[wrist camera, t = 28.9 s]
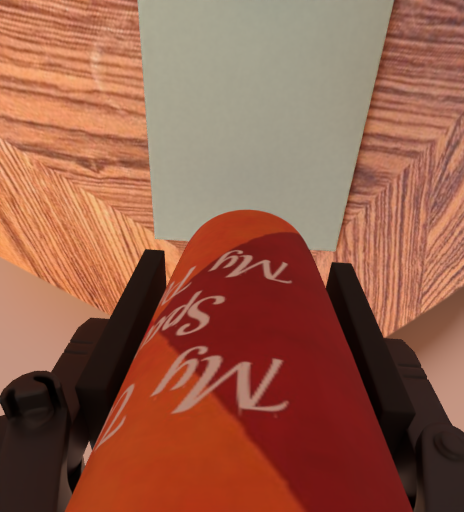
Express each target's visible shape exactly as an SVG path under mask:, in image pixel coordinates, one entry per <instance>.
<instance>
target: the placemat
mask: <svg viewBox="0 0 464 512" xmlns="http://www.w3.org/2000/svg"><path fill="white" fill-rule="evenodd" d="M393 3H394V0H138V12H139V26H140V39H141V53H142V67H143V81H144V94H145V108H146V122H147V136H148V150H149V163H150V177H151V191H152V205H153V218H154V232H155V239H164V240H179V241H190V239H191V238H192V236H193V235H194V234H195V232H196V231H197V230H198V229H199V228H200V227H201V226H202V225H203V224H205V223H206V222H207V221H209V220H210V219H212V218H214V217H216V216H218V215H220V214H223V213H226V212H230V211H235V210H259V211H264V212H268V213H271V214H273V215H276V216H278V217H280V218H282V219H283V220H285V221H287V222H288V223H289V224H291V225H292V226H293V227H294V228H295V229H296V230H297V231H298V232H299V233H300V235H301V236H302V238H303V239H304V241H305V242H306V244H307V246H308V248H309V250H322V251H335V250H336V246H337V242H338V238H339V233H340V229H341V225H342V221H343V216H344V212H345V208H346V204H347V199H348V195H349V191H350V187H351V182H352V178H353V174H354V169H355V165H356V161H357V157H358V152H359V148H360V144H361V140H362V135H363V131H364V127H365V123H366V118H367V114H368V110H369V106H370V101H371V97H372V93H373V88H374V84H375V80H376V76H377V71H378V67H379V63H380V59H381V54H382V50H383V46H384V42H385V37H386V33H387V29H388V25H389V20H390V16H391V12H392V7H393Z"/></svg>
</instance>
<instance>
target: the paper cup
mask: <svg viewBox="0 0 464 512" xmlns="http://www.w3.org/2000/svg"><path fill="white" fill-rule="evenodd" d="M65 512H413V510H412V507H411V505H410V502H409V500H408V497H407V495H406V492H405V489H404V487H403V484H402V482H401V479H400V477H399V474H398V471H397V469H396V466H395V464H394V461H393V459H392V456H391V454H390V451H389V448H388V446H387V443H386V441H385V438H384V436H383V433H382V430H381V428H380V425H379V423H378V420H377V418H376V415H375V412H374V410H373V407H372V405H371V402H370V400H369V397H368V394H367V392H366V389H365V387H364V384H363V381H362V379H361V376H360V373H359V371H358V368H357V366H356V363H355V360H354V358H353V355H352V352H351V350H350V348H349V345H348V343H347V341H346V338H345V336H344V333H343V331H342V328H341V326H340V323H339V321H338V318H337V316H336V313H335V310H334V308H333V305H332V303H331V300H330V298H329V295H328V293H327V290H326V288H325V285H324V283H323V281H322V278H321V276H320V273H319V271H318V268H317V266H316V264H315V261H314V259H313V257H312V254H311V252H310V250H309V248H308V246H307V244H306V242H305V241H304V239H303V238H302V236H301V235H300V233H299V232H298V231H297V230H296V229H295V228H294V227H293V226H292V225H291V224H289V223H288V222H287V221H285V220H283V219H282V218H280V217H278V216H276V215H273V214H271V213H268V212H264V211H259V210H235V211H230V212H226V213H223V214H220V215H218V216H216V217H214V218H212V219H210V220H209V221H207V222H206V223H205V224H203V225H202V226H201V227H200V228H199V229H198V230H197V231H196V232H195V234H194V235H193V236H192V238H191V239H190V241H189V243H188V244H187V246H186V248H185V250H184V252H183V254H182V256H181V258H180V260H179V262H178V264H177V266H176V268H175V270H174V272H173V275H172V277H171V279H170V281H169V283H168V285H167V287H166V290H165V292H164V294H163V296H162V298H161V300H160V303H159V305H158V307H157V309H156V311H155V314H154V316H153V318H152V320H151V322H150V324H149V327H148V329H147V331H146V333H145V335H144V338H143V340H142V342H141V344H140V346H139V349H138V351H137V353H136V355H135V357H134V360H133V362H132V364H131V366H130V368H129V371H128V373H127V375H126V377H125V379H124V382H123V384H122V386H121V388H120V390H119V393H118V395H117V397H116V399H115V401H114V404H113V406H112V408H111V410H110V413H109V415H108V417H107V419H106V421H105V424H104V426H103V428H102V430H101V432H100V435H99V437H98V439H97V441H96V443H95V446H94V448H93V450H92V452H91V455H90V457H89V459H88V461H87V464H86V466H85V468H84V470H83V472H82V474H81V477H80V479H79V481H78V483H77V485H76V488H75V490H74V492H73V494H72V496H71V499H70V501H69V503H68V505H67V507H66V510H65Z"/></svg>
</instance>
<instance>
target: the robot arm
mask: <svg viewBox="0 0 464 512" xmlns="http://www.w3.org/2000/svg"><path fill="white" fill-rule="evenodd" d="M165 290H166V271H165V254H164V251H163V250H148V249H145V251H144V253H143V255H142V257H141V259H140V261H139V263H138V265H137V267H136V269H135V270H134V272H133V274H132V276H131V278H130V280H129V282H128V284H127V286H126V288H125V290H124V292H123V294H122V296H121V298H120V300H119V302H118V304H117V305H116V307H115V309H114V311H113V313H112V315H111V317H110V319H101V318H90V319H88V320H87V321H86V322H85V323H83V324H82V325H81V326H80V327H79V328H78V329H77V330H76V332H75V334H74V335H73V337H72V339H71V340H70V343H69V344H68V345H67V347H66V349H65V350H64V353H62V355H61V357H60V358H59V360H58V362H57V363H56V365H55V367H54V368H53V370H52V372H48V371H34V372H31V373H27V374H24V375H22V376H20V377H18V378H17V379H15V380H13V381H12V382H11V383H10V384H9V385H8V386H7V387H6V388H5V389H4V390H3V391H2V393H1V395H0V404H1V406H2V408H3V410H4V413H5V415H3V416H0V512H65V510H66V507H67V505H68V503H69V501H70V499H71V496H72V494H73V492H74V490H75V488H76V485H77V483H78V481H79V479H80V477H81V474H82V472H83V470H84V468H85V465H84V458H83V454H84V452H85V449H86V447H87V444H88V442H89V441H90V445H91V448H92V450H93V448H94V446H95V443H96V441H97V439H98V437H99V435H100V432H101V430H102V428H103V426H104V424H105V421H106V419H107V417H108V415H109V413H110V410H111V408H112V406H113V404H114V401H115V399H116V397H117V395H118V393H119V390H120V388H121V386H122V384H123V382H124V379H125V377H126V375H127V373H128V371H129V368H130V366H131V364H132V362H133V360H134V357H135V355H136V353H137V351H138V349H139V346H140V344H141V342H142V340H143V338H144V335H145V333H146V331H147V329H148V327H149V324H150V322H151V320H152V318H153V316H154V314H155V311H156V309H157V307H158V305H159V303H160V300H161V298H162V296H163V294H164V292H165ZM326 290H327V293H328V295H329V298H330V300H331V303H332V305H333V308H334V310H335V313H336V316H337V318H338V321H339V323H340V326H341V328H342V331H343V333H344V336H345V338H346V341H347V343H348V345H349V348H350V350H351V352H352V355H353V358H354V360H355V363H356V366H357V368H358V371H359V373H360V376H361V379H362V381H363V384H364V387H365V389H366V392H367V394H368V397H369V400H370V402H371V405H372V407H373V410H374V412H375V415H376V418H377V420H378V423H379V425H380V428H381V430H382V433H383V436H384V438H385V441H386V443H387V446H388V448H389V451H390V454H391V456H392V459H393V461H394V464H395V466H396V469H397V471H398V474H399V477H400V479H401V482H402V484H403V487H404V489H405V492H406V495H407V497H408V500H409V502H410V505H411V507H412V510H413V512H464V432H463V431H461V430H460V429H458V428H456V427H454V426H453V425H452V424H451V422H450V421H449V419H448V417H447V415H446V413H445V411H444V409H443V407H442V405H441V403H440V401H439V399H438V397H437V395H436V393H435V391H434V389H433V388H432V385H431V384H430V382H429V380H427V376H426V374H425V372H424V370H423V369H422V368H421V364H420V362H419V360H418V358H417V356H416V354H415V352H414V351H413V350H412V349H411V348H410V347H409V346H408V345H407V344H406V343H405V342H404V341H403V340H401V339H387V338H383V336H382V333H381V331H380V329H379V326H378V324H377V322H376V319H375V317H374V315H373V313H372V310H371V308H370V306H369V303H368V301H367V299H366V296H365V294H364V292H363V290H362V287H361V285H360V283H359V280H358V278H357V276H356V273H355V271H354V269H353V266H352V264H350V263H336V262H332V264H331V268H330V273H329V277H328V281H327V286H326Z"/></svg>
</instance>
